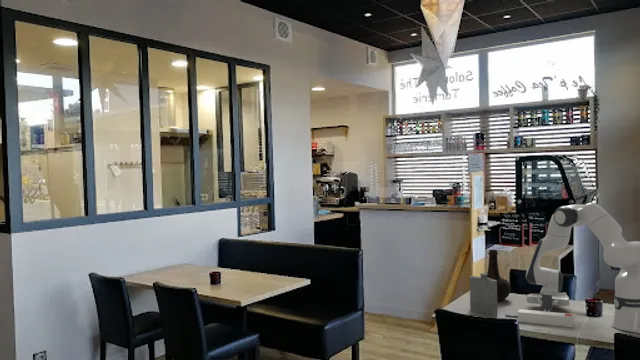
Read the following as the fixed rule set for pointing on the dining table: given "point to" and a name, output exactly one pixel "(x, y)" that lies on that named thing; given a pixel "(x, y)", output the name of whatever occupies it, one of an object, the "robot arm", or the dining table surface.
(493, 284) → the hip flask
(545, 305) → the charger
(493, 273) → the glass bottle
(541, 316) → the power strip
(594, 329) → the dining table surface
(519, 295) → the dining table surface
